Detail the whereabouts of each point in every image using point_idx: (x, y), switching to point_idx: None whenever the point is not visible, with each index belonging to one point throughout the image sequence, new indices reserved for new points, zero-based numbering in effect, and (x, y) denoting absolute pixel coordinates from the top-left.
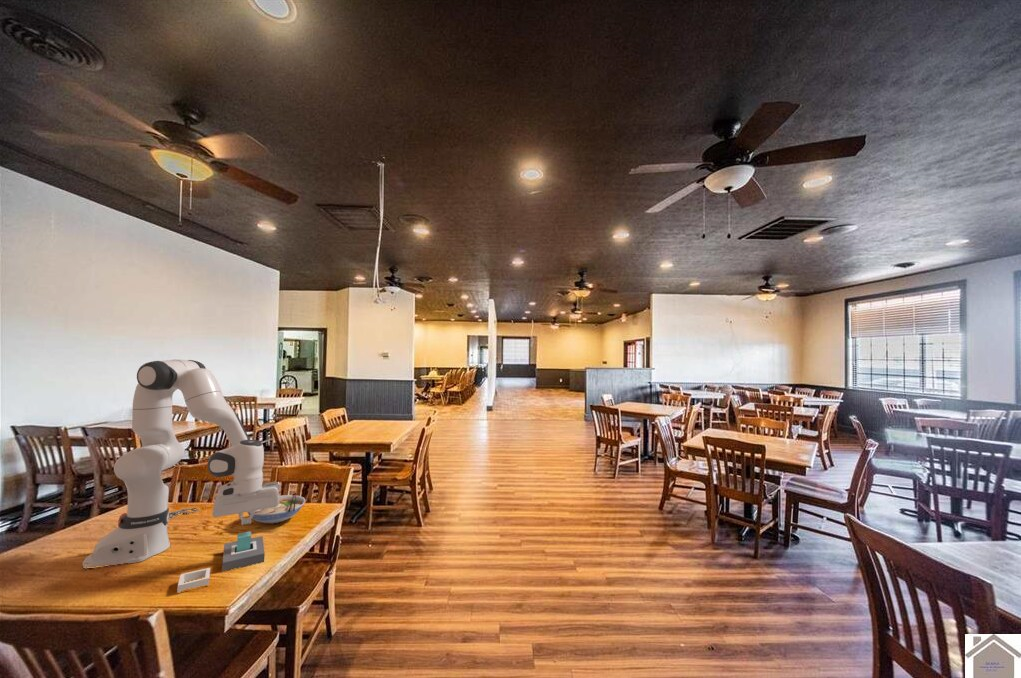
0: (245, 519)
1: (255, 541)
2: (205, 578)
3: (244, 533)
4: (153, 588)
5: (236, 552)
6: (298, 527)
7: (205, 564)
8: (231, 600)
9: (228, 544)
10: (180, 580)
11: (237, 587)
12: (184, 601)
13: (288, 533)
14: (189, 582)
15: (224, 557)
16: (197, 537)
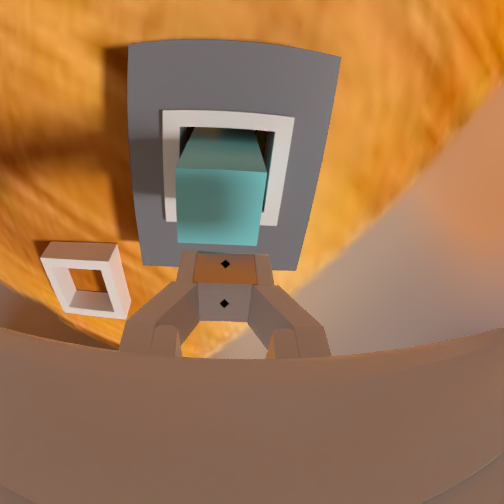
0: (214, 318)
1: (290, 124)
2: (117, 316)
3: (220, 189)
4: (8, 238)
5: None
6: (477, 21)
7: (83, 144)
8: None
9: (148, 65)
10: (57, 292)
11: (203, 335)
12: (101, 328)
13: (441, 39)
14: (84, 313)
15: (141, 222)
16: None
